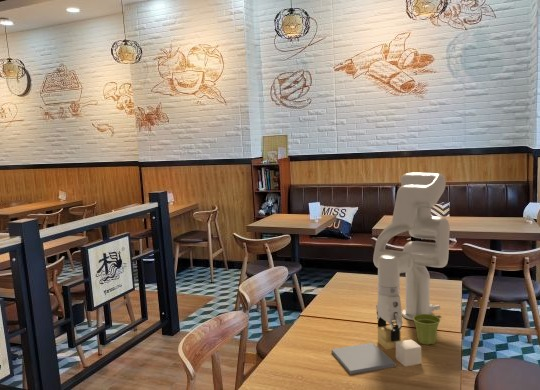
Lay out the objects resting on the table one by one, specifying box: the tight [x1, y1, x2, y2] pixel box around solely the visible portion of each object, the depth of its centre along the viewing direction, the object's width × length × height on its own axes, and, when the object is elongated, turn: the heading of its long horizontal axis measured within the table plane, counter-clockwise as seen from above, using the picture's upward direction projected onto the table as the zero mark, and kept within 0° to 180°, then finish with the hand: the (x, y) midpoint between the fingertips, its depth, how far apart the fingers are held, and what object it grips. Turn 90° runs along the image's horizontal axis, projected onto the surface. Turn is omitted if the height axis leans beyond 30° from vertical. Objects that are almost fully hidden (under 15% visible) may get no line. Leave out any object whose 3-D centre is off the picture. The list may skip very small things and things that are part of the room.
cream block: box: [395, 339, 422, 367], centre depth 156 cm, size 6×6×6 cm
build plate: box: [331, 342, 396, 375], centre depth 159 cm, size 16×16×1 cm
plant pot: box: [412, 314, 441, 345], centre depth 170 cm, size 9×9×9 cm
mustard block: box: [377, 325, 402, 350], centre depth 169 cm, size 6×6×6 cm
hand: (388, 335), depth 168 cm, fingers open, 9 cm apart
